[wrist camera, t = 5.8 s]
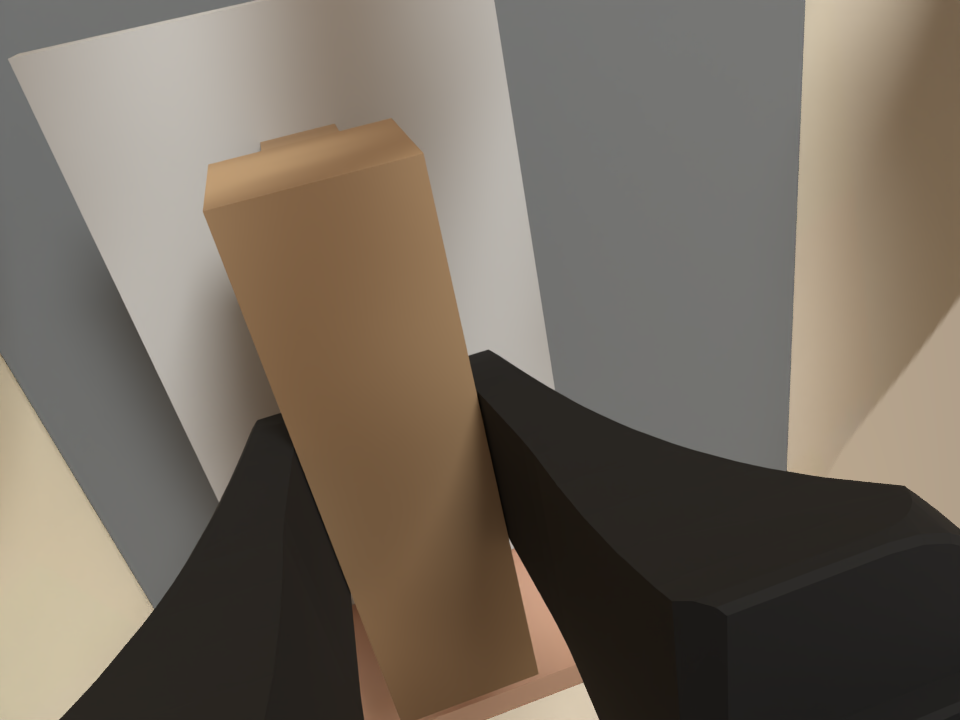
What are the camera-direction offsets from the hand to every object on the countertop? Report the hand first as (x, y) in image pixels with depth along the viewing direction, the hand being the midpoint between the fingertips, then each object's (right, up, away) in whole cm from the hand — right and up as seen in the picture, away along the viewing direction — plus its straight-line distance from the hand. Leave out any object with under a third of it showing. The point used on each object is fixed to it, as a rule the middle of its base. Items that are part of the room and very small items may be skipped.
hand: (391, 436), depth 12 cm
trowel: (-1, +2, +3) cm, 3 cm away
